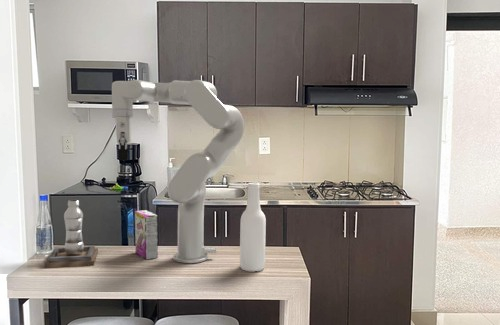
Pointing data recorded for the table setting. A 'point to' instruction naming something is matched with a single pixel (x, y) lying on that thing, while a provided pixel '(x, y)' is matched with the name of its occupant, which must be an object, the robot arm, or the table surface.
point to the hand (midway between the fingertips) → (123, 159)
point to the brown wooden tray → (71, 258)
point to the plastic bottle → (73, 228)
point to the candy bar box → (146, 234)
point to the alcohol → (252, 232)
